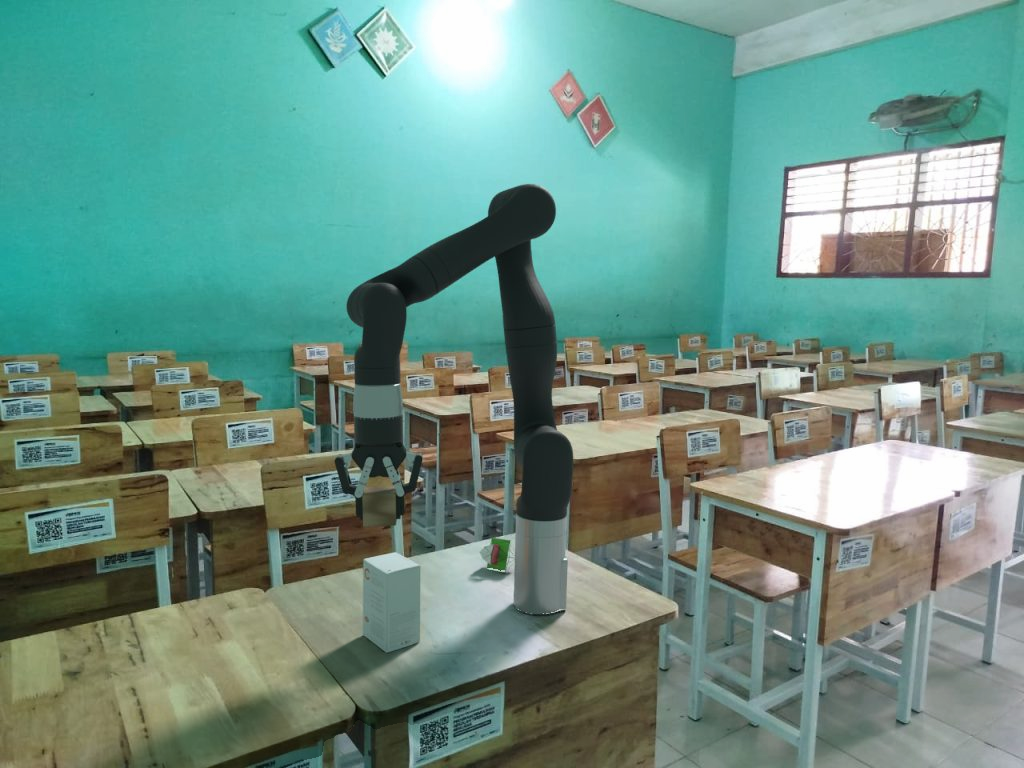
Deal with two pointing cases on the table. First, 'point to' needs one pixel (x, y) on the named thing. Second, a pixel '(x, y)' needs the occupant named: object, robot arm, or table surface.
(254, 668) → the table surface
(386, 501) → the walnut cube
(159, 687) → the table surface
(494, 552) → the geometric puzzle
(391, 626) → the small box
